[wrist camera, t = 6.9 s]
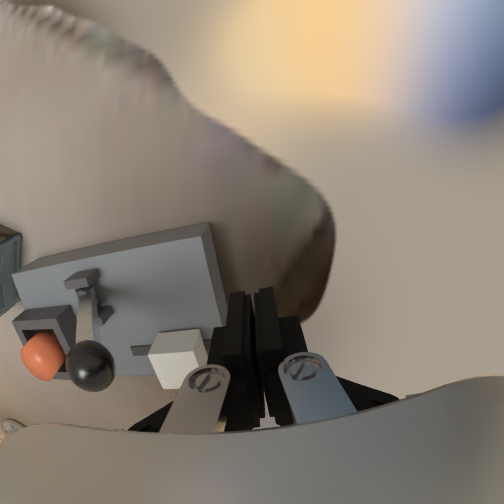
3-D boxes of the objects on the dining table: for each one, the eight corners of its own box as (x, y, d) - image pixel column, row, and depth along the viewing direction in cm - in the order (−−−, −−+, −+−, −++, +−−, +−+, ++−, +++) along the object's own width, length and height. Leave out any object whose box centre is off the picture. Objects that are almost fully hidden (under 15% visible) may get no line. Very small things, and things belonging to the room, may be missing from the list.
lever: (107, 304, 19) (127, 392, 10) (80, 313, 18) (81, 408, 9) (97, 275, 18) (105, 349, 9) (69, 285, 17) (55, 366, 8)
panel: (235, 338, 24) (232, 389, 18) (74, 350, 24) (46, 387, 19) (209, 222, 21) (194, 246, 15) (37, 258, 21) (-5, 284, 16)
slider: (209, 363, 20) (206, 386, 17) (170, 366, 20) (163, 389, 17) (199, 328, 19) (193, 351, 16) (157, 333, 19) (147, 354, 16)
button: (76, 359, 19) (59, 382, 16) (50, 358, 19) (33, 379, 16) (59, 325, 18) (39, 346, 15) (33, 326, 18) (14, 345, 15)
